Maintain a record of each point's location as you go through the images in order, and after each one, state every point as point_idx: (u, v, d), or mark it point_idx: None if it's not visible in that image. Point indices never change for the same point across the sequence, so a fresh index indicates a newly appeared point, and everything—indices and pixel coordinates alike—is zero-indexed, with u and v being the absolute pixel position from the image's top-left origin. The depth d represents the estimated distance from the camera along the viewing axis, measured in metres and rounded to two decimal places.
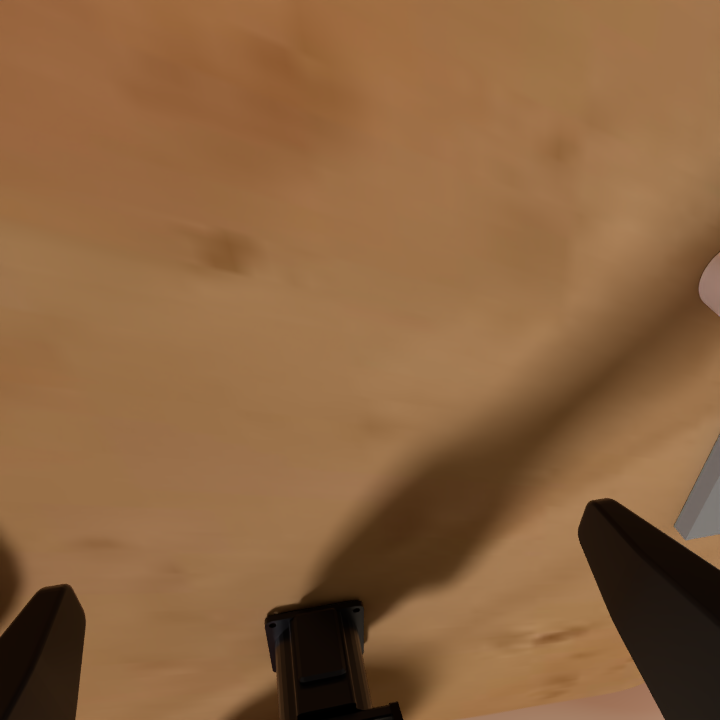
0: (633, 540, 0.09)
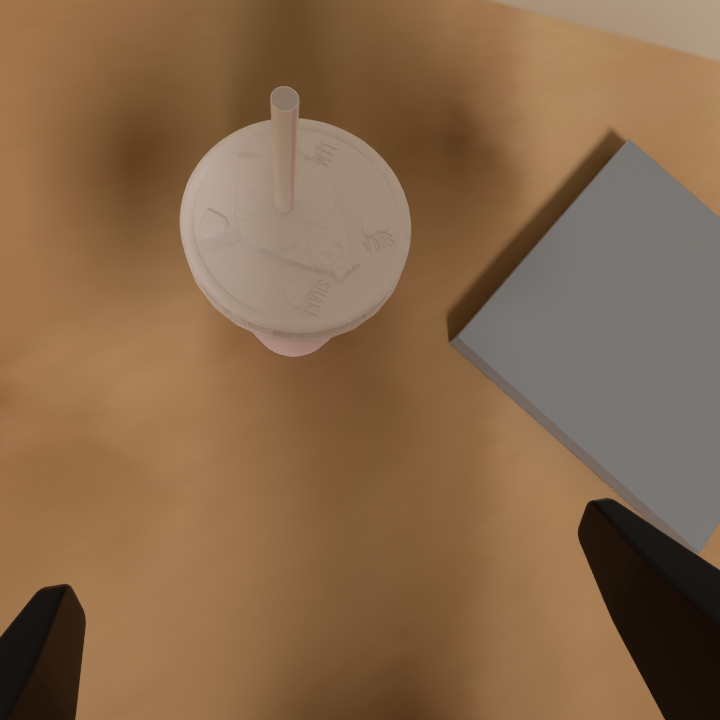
0: (633, 540, 0.09)
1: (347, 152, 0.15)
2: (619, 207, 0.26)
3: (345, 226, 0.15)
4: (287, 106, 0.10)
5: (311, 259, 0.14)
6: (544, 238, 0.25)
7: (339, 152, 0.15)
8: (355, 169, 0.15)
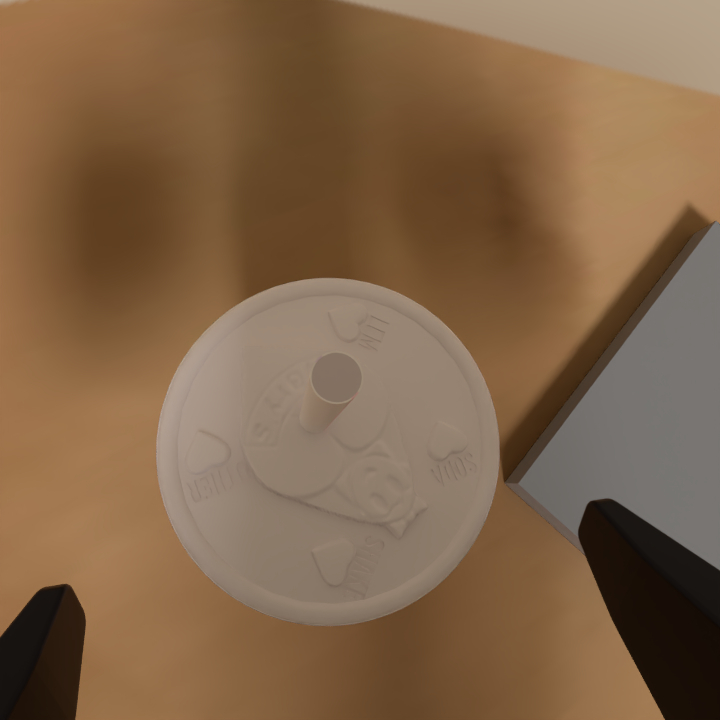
0: (633, 540, 0.09)
1: (403, 327, 0.10)
2: (708, 308, 0.21)
3: (404, 447, 0.10)
4: (340, 386, 0.06)
5: (355, 506, 0.09)
6: (620, 350, 0.20)
7: (392, 328, 0.10)
8: (416, 353, 0.10)
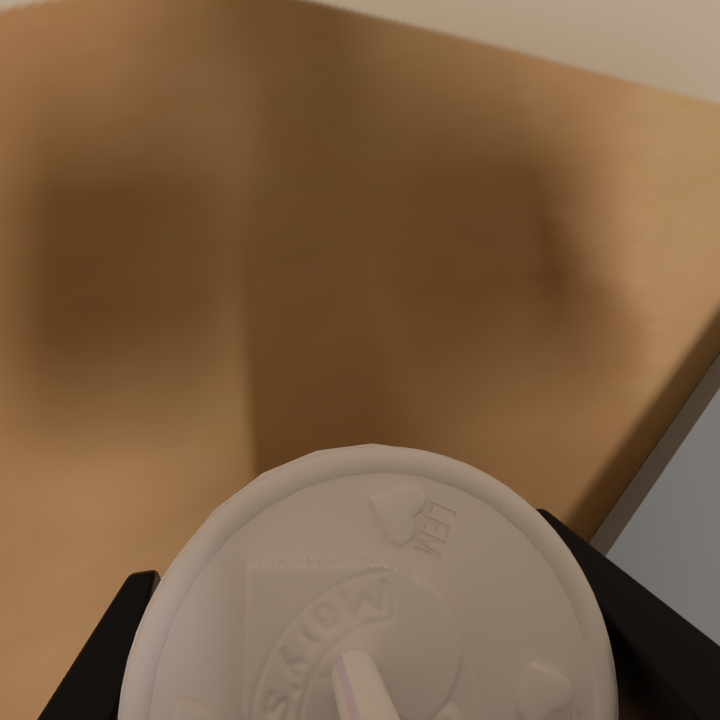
0: None
1: (477, 517, 0.07)
2: None
3: (484, 709, 0.07)
4: None
5: None
6: (691, 433, 0.17)
7: (461, 519, 0.07)
8: (495, 556, 0.07)
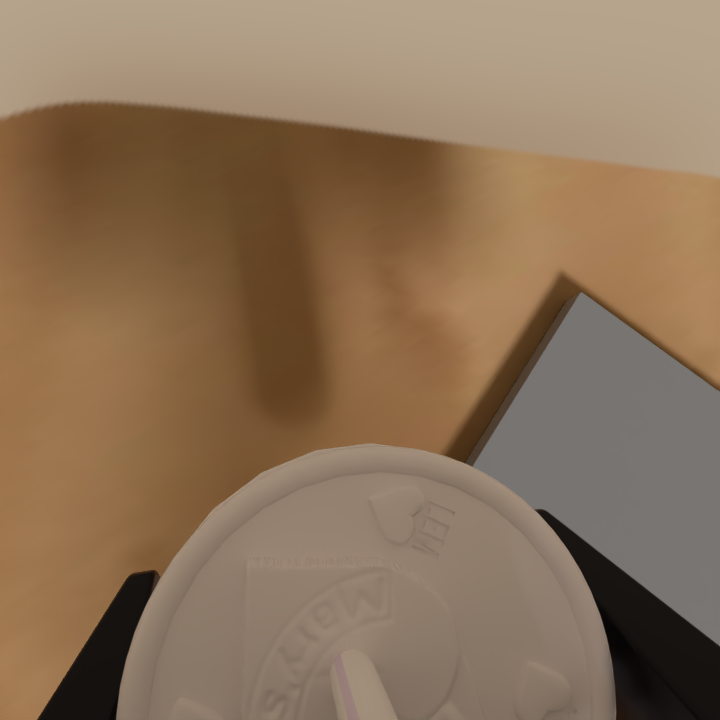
0: None
1: (476, 517, 0.07)
2: (577, 377, 0.23)
3: (482, 708, 0.07)
4: None
5: None
6: (497, 429, 0.22)
7: (460, 518, 0.07)
8: (494, 556, 0.07)
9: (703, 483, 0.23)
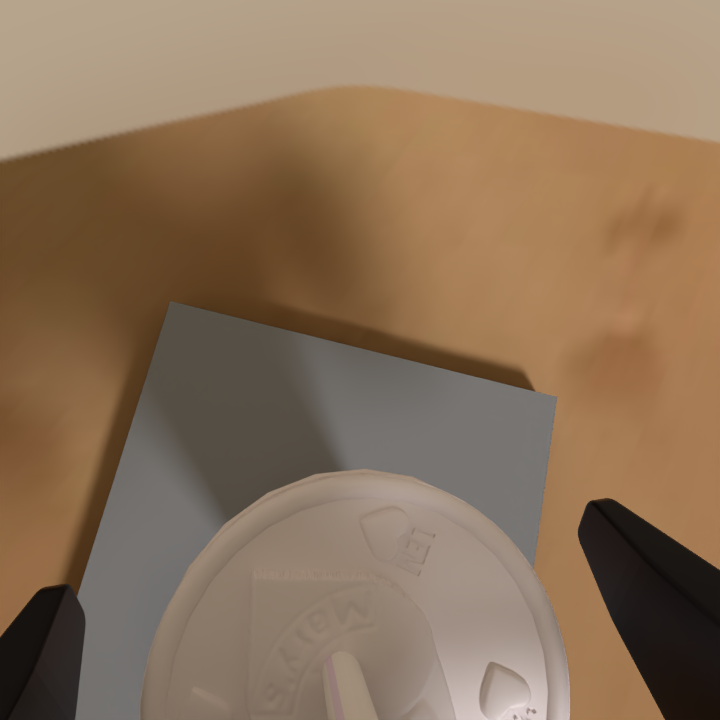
0: (633, 540, 0.09)
1: (454, 539, 0.08)
2: (195, 412, 0.17)
3: (452, 705, 0.08)
4: None
5: None
6: (101, 526, 0.16)
7: (439, 540, 0.08)
8: (468, 574, 0.08)
9: None
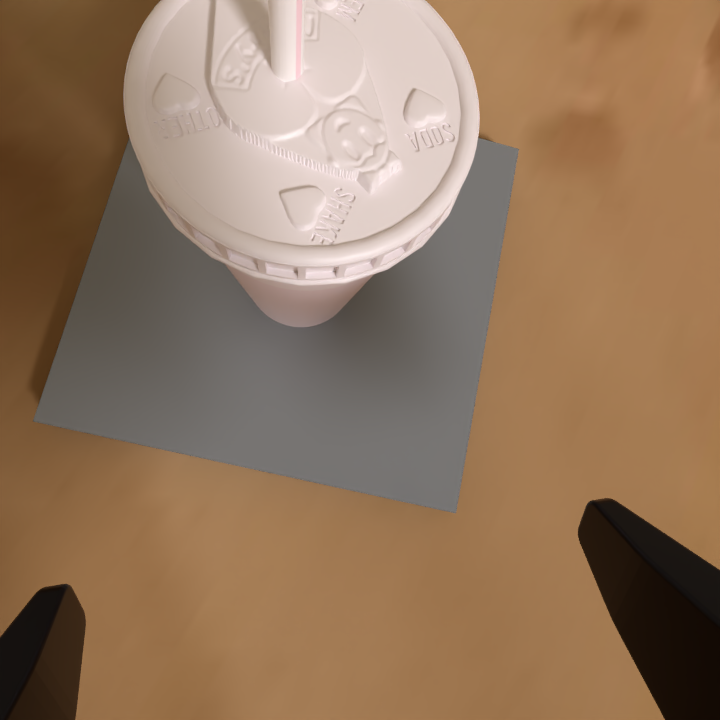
0: (633, 540, 0.09)
1: (384, 1, 0.10)
2: None
3: (380, 108, 0.10)
4: None
5: (327, 154, 0.09)
6: (98, 233, 0.18)
7: (372, 0, 0.10)
8: (396, 26, 0.10)
9: None
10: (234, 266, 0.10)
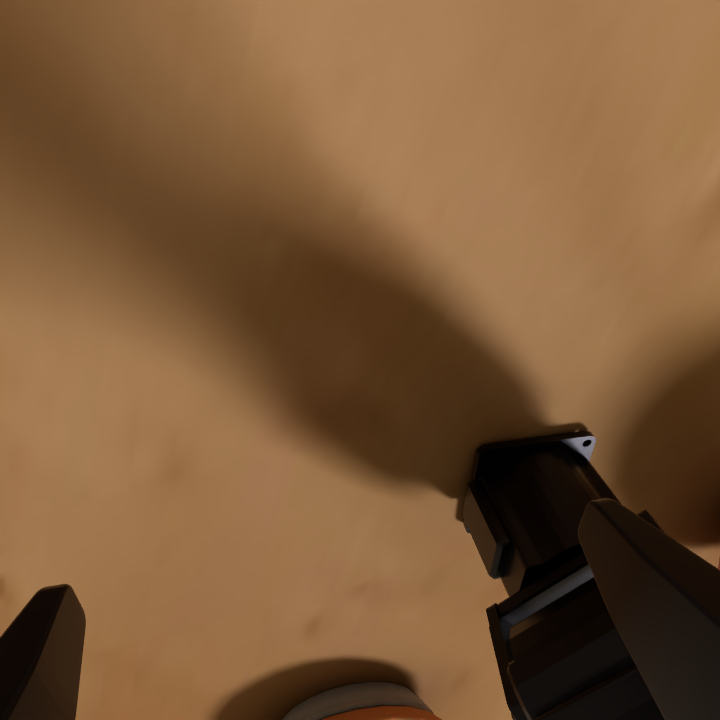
0: (633, 540, 0.09)
1: None
2: None
3: None
4: None
5: None
6: None
7: None
8: None
9: None
10: None
